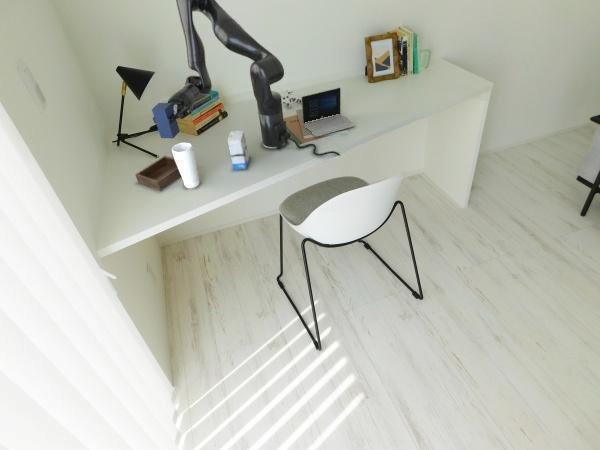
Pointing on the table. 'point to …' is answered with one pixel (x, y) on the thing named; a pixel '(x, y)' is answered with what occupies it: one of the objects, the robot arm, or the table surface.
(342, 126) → the laptop
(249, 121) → the table surface
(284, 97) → the molecule model
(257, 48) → the robot arm
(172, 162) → the desk tray
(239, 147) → the ink box
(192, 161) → the drinking glass
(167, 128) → the carton
